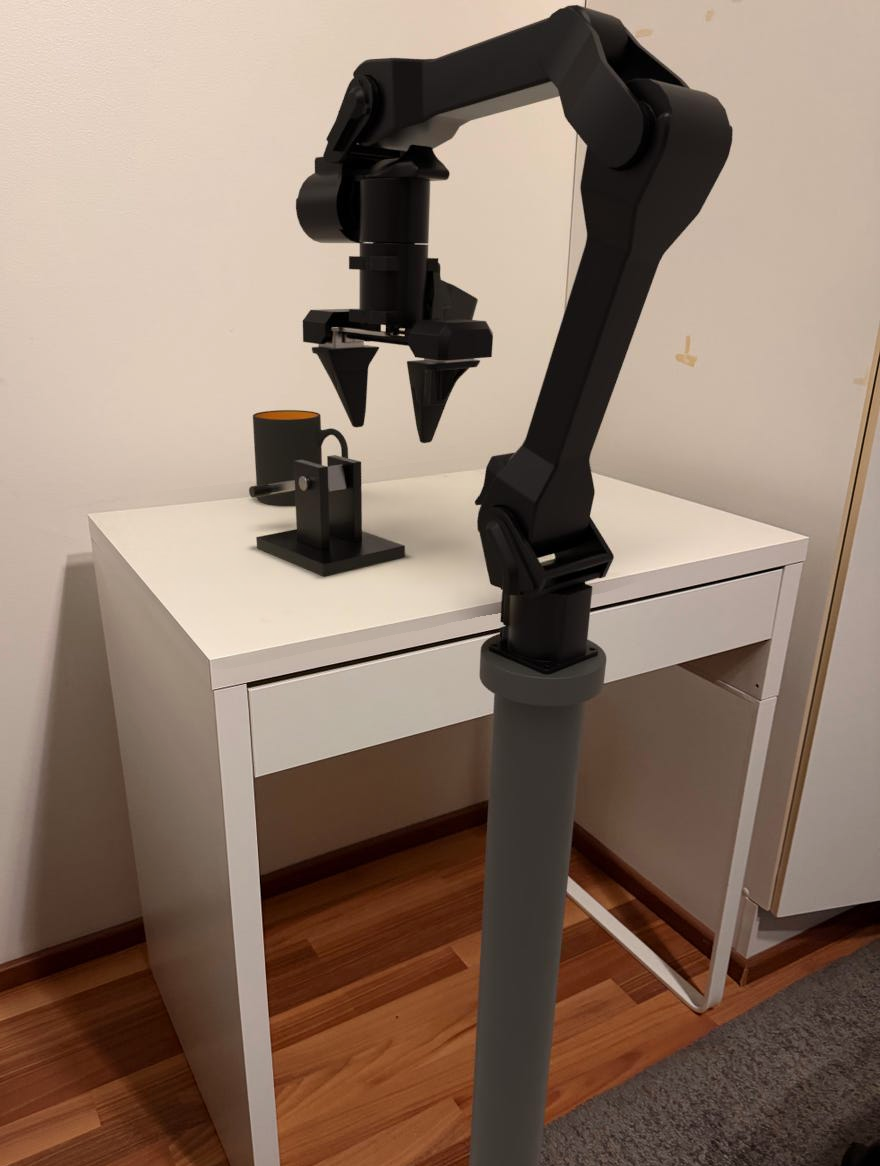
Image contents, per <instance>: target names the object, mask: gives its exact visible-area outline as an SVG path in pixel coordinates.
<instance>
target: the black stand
mask: <svg viewBox="0 0 880 1166" xmlns="http://www.w3.org/2000/svg"><path fill="white" fill-rule="evenodd" d="M326 461H327V462H326V463H327V465H324V464H322V465H320V464H316V463H312V462H308V461H305V460H297V461H294V476H295V501H296V505H295V518H296V519H295V520H296V523H295V525H296V528H294V529H289V530H285V531H280V532H275V533H269V534H264V535H260V536H256V541H255V542H256V548H257V549H258V550H261V551H263V552H266V553H268V554H270V555H273V556H274V557H277V558H279V559H282V560H284V561H286V562H289V563H291V564H293V565H296V566H298V567H301V568H302V569H305V570H308V571H310V572H312V573H314V574H317V575H320V576H322V577H327V576H330V575H336V574H339V573H340V574H341V573H344V572H349V571H353V570H357V569H361V568H365V567H368V566H372V565H377V564H380V563H384V562H385V563H386V562H389V561H390V562H391V561H393V560H398V559H402V558H405V557H406V545H404V544H401V543H399V542H395V541H393V540H390V539H387V538H384V537H381V536H378V535H376V534H373V533H369V532H366V531H364V530H363V507H362V506H363V498H362V497H363V495H362V461H360V460H356V459H352V458H349V457H348V458H345V457H342V455H341V456H340V455H336V454H333V455H327V456H326ZM335 465H343V470H344V475H345V481H346V487H347V489H343V490H338V491H332V492H328V467H329V466H335Z"/></svg>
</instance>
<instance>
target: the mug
mask: <svg viewBox="0 0 880 1166" xmlns="http://www.w3.org/2000/svg"><path fill="white" fill-rule="evenodd" d="M321 417H322V416H321V414H320V413H319V412H316V411H310V410H301V409H300V410H297V409H279V410H278V409H277V410H265V411H260V412H259V411H258V412H256V413H254V414H253V415H252V428H253V445H254V446H253V447H254V448H253V449H254V464H255V482H256V483H255V484H256V486H257V485H263V484H269V483H276V482H282V481H289V480H290V481H292V480H295V476H294V461H297V460H305V461H308V462H312V463H316V464H320V465H323V454H322V453H323V451H322V446H323V443H324V441H325V439H326V438H328V437H329V436H333V437H335V438H336V439H337V441H338V442H339V445H340V449H341V450H340V451H341V452H340V453H341V457H345V458H349V446H348V442H347V440H346V438H345V436H344V434H342V432H341V431H339V430H338V429H335V428H332V427H331V428H326V429H322V420H321ZM256 498H257V500H258V501H259V502H260V503H262V504H265V505H270V506H282V507H284V506H285V507H291V506H293V507H294V506H295V507H296V501H295V490H293V491H290V492H284V493H278V494H272V495H266V496H260V497H256Z"/></svg>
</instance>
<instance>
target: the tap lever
mask: <svg viewBox="0 0 880 1166" xmlns="http://www.w3.org/2000/svg"><path fill="white" fill-rule="evenodd" d="M343 489H347V487H346V481H345V475H344V470H343V465H335V466H329V467H328V492H332V491H338V490H343ZM293 490H295V480H292V481H290V480H289V481H282V482H276V483H269V484H263V485H257V484H256V485H252V486H250V487H249V488H248V494H249V496H250V497H251V498H257V497H260V496H266V495H272V494H278V493H284V492H290V491H293Z"/></svg>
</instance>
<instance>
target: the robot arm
mask: <svg viewBox="0 0 880 1166" xmlns="http://www.w3.org/2000/svg"><path fill="white" fill-rule="evenodd" d="M352 76H353V78H352V79H351V80H350V81H349V83H348V85H347V88H346V90H345V92H344V97H343V99H342V102H341V105H340V107H339V110H338V112H337V115H336V118H335V121H334V123H333V125H332V127H331V128H330V131H329V133H328V135H327V136H326V139H325V140H326V142H327V143H326V146H325V149H324V151H323V156H317V157H315V158H314V173H312V174H310V175H309V176H307V177H306V179H305V180H304V181H303V182H302V184H301V186H300V187H299V191H298V195H297V197H296V199H295V211H296V217H297V220H298V224H299V226H300V228H301V229H302V231H303V232H304V233H305V235H306V236H307V237H308V238H309V239H310V240H312V241H313V242H317V243H320V244H359V256H357V255H355V256H354V255H349V256H348V270H357V271H358V272H359V282H358V283H359V285H358V287H359V289H358V290H359V291H358V293H359V294H358V295H359V299H358V301H359V306H358V307H359V308H331V309H330V308H329V309H328V308H327V309H326V308H323V309H310V310H309V311H308V313H307V314H306V315H305V317H304V318H303V320H302V342H303V343H308V344H315V345H318V346H312V347H311V352H312V354H315V355H317V358H318V359H319V361H320V362H321V365H322V366H323V369H324V370H325V373H326V374H327V375H328V378H329V379H330V382H331V383H332V385H333V388H334V390H335V392H336V394H337V396H338V398H339V400H340V403H341V404H342V407H343V408H344V412H345V413H346V415H347V418H348V420H349V421H350V425H351V426H352V427H353V428H362V427H363V426H364V425H365V418H366V412H367V396H368V379H369V368H370V367H369V366H370V365H371V363H372V361H373V359H374V358H375V356H376V355H377V353H378V351H379V350H380V346H376V345H369V344H365V342H369V343H370V342H373V343H381V344H389V345H390V344H391V345H397V346H406V347H407V346H408V347H409V349H410V351H411V353H412V354H413V356H414V358H418V359H417V360H407V361H406V367H407V373H408V380H409V386H410V393H411V400H412V406H413V412H414V421H415V426H416V431H417V435H418V439H419V442H420V443H421V444H427V443H431V442H432V441H433V439H434V436H435V435H436V432H437V429H438V426H439V425H440V421H441V419H442V416H443V413H444V410H445V408H446V405H447V402H448V400H449V398H450V396H451V393H452V392H453V389H454V387H455V386H456V383H457V382H458V380H459V379H460V378H461V377H462V376H463V375H464V374H465V373H466V372H467V371H468V370H469V369H470V368H471V369H472V368H473V369H474V368H477V367H478V366H479V365H480V363H481V359H486V358H492V357H493V342H494V332H493V331H492V328H491V327H490V326H489V324H488V322H487V320H480V319H479V320H477V319H474V316H475V311H476V308H477V305H478V302H479V301H478V300H479V299H478V298H477V297H475V296H474V295H472V294H471V293H468V292H467V291H465V290H463V289H461V288H459V287H458V286H457V285H455V284H452V283H450V282H446V281H445V280H443V279H442V277H441V264H440V263H439V258H438V257H436V258H435V257H429V242H430V241H429V240H430V239H429V237H430V235H429V234H430V232H429V231H430V206H431V205H430V204H431V182H441V181H448V180H449V178H450V175H451V173H450V170H449V169H448V168H447V167H446V164H444V163H443V162H442V161H441V160H440V159H439V158H438V157H437V156H436V154H435V151H434V149H435V148H438V147H440V146H441V145H443V144H445V143H446V142H448V141H451V140H452V139H453V138H454V137H455V136H456V134H457V132H458V130H459V129H460V127H462V126H464V125H465V124H467V123H469V122H471V121H474V120H478V119H481V118H485V117H489V116H493V115H496V114H500V113H503V112H508V111H511V110H515V109H519V108H523V107H526V106H529V105H533V104H537V103H540V102H544V101H547V100H551V99H555V98H559V100H560V103H561V108H562V111H563V116H564V118H565V119H566V121H567V122H568V123H569V126H571V127H572V129H573V130H574V131H575V132H576V134H577V135H578V136H579V138H580V139H581V140H582V141H583V143H584V144H585V146H586V147H585V148H586V149H585V154H584V160H583V167H582V170H581V171H582V173H581V178H580V185H579V186H580V187H579V189H580V196H581V197H580V198H581V203H582V210H583V216H584V224H585V230H586V238H585V239H586V240H585V244H584V248H583V251H582V254H581V257H580V260H579V263H578V267H577V270H576V273H575V276H574V280H573V283H572V285H571V289H570V293H569V296H568V299H567V302H566V306H565V308H564V311H563V312H564V313H563V315H562V319H561V322H560V325H559V329H558V331H557V334H556V337H555V341H554V345H553V347H552V351H551V354H550V357H549V361H548V365H547V367H546V370H545V374H544V377H543V380H542V383H541V387H540V389H539V394H538V395H537V400H536V402H535V406H534V409H533V412H532V416H531V420H530V422H529V426H528V429H527V432H526V435H525V438H524V440H523V441H522V444H521V445H520V446H519V448H517V449H516V451H514V452H509V453H503V454H497V455H492V456H491V457H490V459H489V461H488V463H487V465H486V467H485V473H484V474H485V475H484V480H483V484H482V485H483V486H482V488H481V490H480V493H479V495H478V496H477V497H476V499H475V501H474V505H475V506H480V507H479V509H478V513H477V520H476V522H477V523H476V524H477V532H478V534H479V538H480V542H481V547H482V551H483V552H482V553H483V557H484V562H485V566H486V570H487V571H486V572H487V575H488V580H489V584H490V585H491V586H493V587H496V588H499V589H500V590H501V602H500V620H499V621H500V623H502V625H503V626H500V628H499V634H500V637H501V638H502V640H499V641H496V642H493V643H490V644H489V648H488V650H489V651H490V652H493V653H495V654H497V655H500V656H502V657H504V658H507V659H509V660H511V661H514V662H516V663H518V664H521V665H523V666H525V667H528V668H530V669H532V670H534V671H537V672H539V673H541V674H545V675H549V674H552V673H555V672H557V671H560V670H562V669H565V668H568V667H570V666H573V665H575V664H578V663H580V662H583V661H585V660H588V659H590V658H593V657H595V656H597V655H598V650H599V649H598V648H595V647H593V646H590V645H588V644H587V639H588V638H589V628H590V627H589V626H590V618H591V617H590V616H591V605H592V595H593V586H592V585H591V584H587V582H590V581H593V580H597V579H603V578H605V577H607V574H608V572H609V570H610V567H611V566H612V563H613V561H614V557H615V556H614V553H613V551H612V550H611V548H610V546H609V545H608V543H607V541H606V540H605V538H604V537H603V535H602V534H601V532H600V530H599V529H598V527H597V525H596V523H595V521H594V520H593V519H592V517H591V513H592V508H593V503H594V499H595V493H596V492H595V491H596V490H595V484H594V477H593V473H592V469H591V462H590V459H591V454H592V450H593V448H594V446H595V443H596V440H597V437H598V434H599V432H600V429H601V427H602V424H603V420H604V418H605V415H606V412H607V409H608V406H609V404H610V400H611V398H612V395H613V393H614V390H615V387H616V384H617V381H618V378H619V376H620V373H621V370H622V367H623V364H624V361H625V360H626V357H627V354H628V351H629V349H630V345H631V343H632V340H633V337H634V334H635V331H636V328H637V326H638V323H639V321H640V317H641V315H642V311H643V310H644V307H645V304H646V301H647V298H648V295H649V292H650V290H651V286H652V284H653V281H654V279H655V275H656V273H657V270H658V268H659V264H660V262H661V260H662V258H663V256H664V255H665V253H667V251H668V250H669V249H670V248H671V246H672V245H673V244H674V243H675V242H676V241H677V240H678V238H679V237H680V236H681V235H682V234H683V233H684V232H685V230H686V229H687V228H688V227H689V226H690V224H691V223H693V221H695V219H696V218H697V217H698V215H699V214H700V212H701V211H702V209H703V207H704V205H705V203H706V202H707V200H708V197H709V196H710V194H711V192H712V190H713V188H714V186H715V184H716V182H717V181H718V179H719V177H720V175H721V173H722V171H723V169H724V167H725V165H726V164H727V161H728V158H729V156H730V153H731V148H732V145H733V133H734V132H733V131H734V129H733V126H732V125H731V124H730V120H729V116H728V114H727V109H726V107H724V106H723V104H722V103H721V101H720V100H719V99H718V98H717V97H716V96H714V95H711V94H709V93H708V92H707V91H702V90H698V89H694V88H690V86H689V85H688V84H687V83H686V81H685V80H684V79H683V78H681V77H680V76H679V75H678V74H677V73H675V72H674V71H673V70H672V69H670V67H668V66H667V65H666V64H665V63H663V62H662V61H661V60H660V59H659V58H657V57H656V56H655V55H654V54H652V53H651V52H650V51H649V50H647V49H646V48H645V47H644V46H643V45H641V43H640V42H639V41H638V40H637V38H636V37H635V36H634V35H633V34H632V33H631V31H630V30H629V29H628V28H627V27H626V26H625V25H624V24H623V22H622V20H621V19H620V18H618V17H616V16H614V15H612V14H609V13H605V12H601V11H598V10H595V9H592V8H589V7H586V6H582V5H579V4H571V5H567V6H565V7H563V8H562V7H561V8H560V7H559V9H557V10H556V11H554V12H552V13H551V14H550V15H549V17H546V18H543V19H541V20H537V21H535V22H533V23H532V22H531V23H530V24H527V25H524V26H522V27H518V28H515V29H513V30H510V31H508V32H505V33H501V34H500V35H496V36H494V37H491V38H488V39H486V40H483V41H480V42H477V43H475V44H472V45H469V46H466V47H464V48H461V49H458V50H455V51H452V52H449V53H447V54H444V55H441V56H438V57H436V58H435V57H434V58H405V57H384V58H369V59H365V60H364V61H362V62H361V63H360V64H358V65H357V66H356V67H355V69H354V71H353V73H352ZM382 326H385V330H382ZM551 555H554V558H552V559H548V560H544V561H541V562H540V560H539V559H540V558H543V557H548V556H551Z"/></svg>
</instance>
